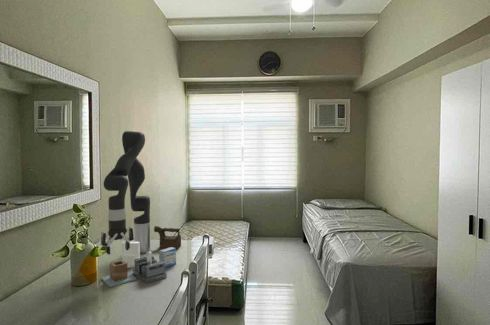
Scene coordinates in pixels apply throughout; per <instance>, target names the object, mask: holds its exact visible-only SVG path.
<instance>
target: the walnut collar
mask: <svg viewBox="0 0 490 325" xmlns="http://www.w3.org/2000/svg"><path fill="white" fill-rule="evenodd" d="M127 271H128V268H127V263H126V262H125V261H123V260H122V259H121V260H117V261H113V262H110V263H109V275H110V278H111V279H112V280H113V281H118V280H122V279H126V278H128V272H129V271H128V272H127Z"/></svg>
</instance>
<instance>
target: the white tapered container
mask: <svg viewBox="0 0 490 325" xmlns="http://www.w3.org/2000/svg"><path fill="white" fill-rule="evenodd" d="M125 242H126V241H125V240H124V241H122V242H121V258H122V259H121V260H123V261H125V262H126V263H127V269H129V268H130V269H131V268H134V259H138V258H141V253H140V242H134V241H130V248H129V250H126V249H125Z"/></svg>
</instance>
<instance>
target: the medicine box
mask: <svg viewBox="0 0 490 325" xmlns="http://www.w3.org/2000/svg"><path fill="white" fill-rule="evenodd" d="M161 261H162V262H164V263H165V269H167V268H169V267H172V266H174V265H177V250H176V248H173V247H169V248H166V249H161V250H159V251H158V262H161Z"/></svg>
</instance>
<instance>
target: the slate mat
mask: <svg viewBox="0 0 490 325" xmlns="http://www.w3.org/2000/svg"><path fill="white" fill-rule="evenodd" d="M127 272H128V278H126V279H122V280H118V281H113V280H112V279H111V278H110V274H109V275H105V276H102V277H101V278H100V279H101V280H102V281H103V282H104V283H105V284H106V285H107V286H108V287H109V288H113V287H115V286H116V287H117V286H119V285H122V284H126V283H130V282H133V281H137V278H136V276H134V275H133V274H131V272H129V271H128V270H127Z"/></svg>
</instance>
